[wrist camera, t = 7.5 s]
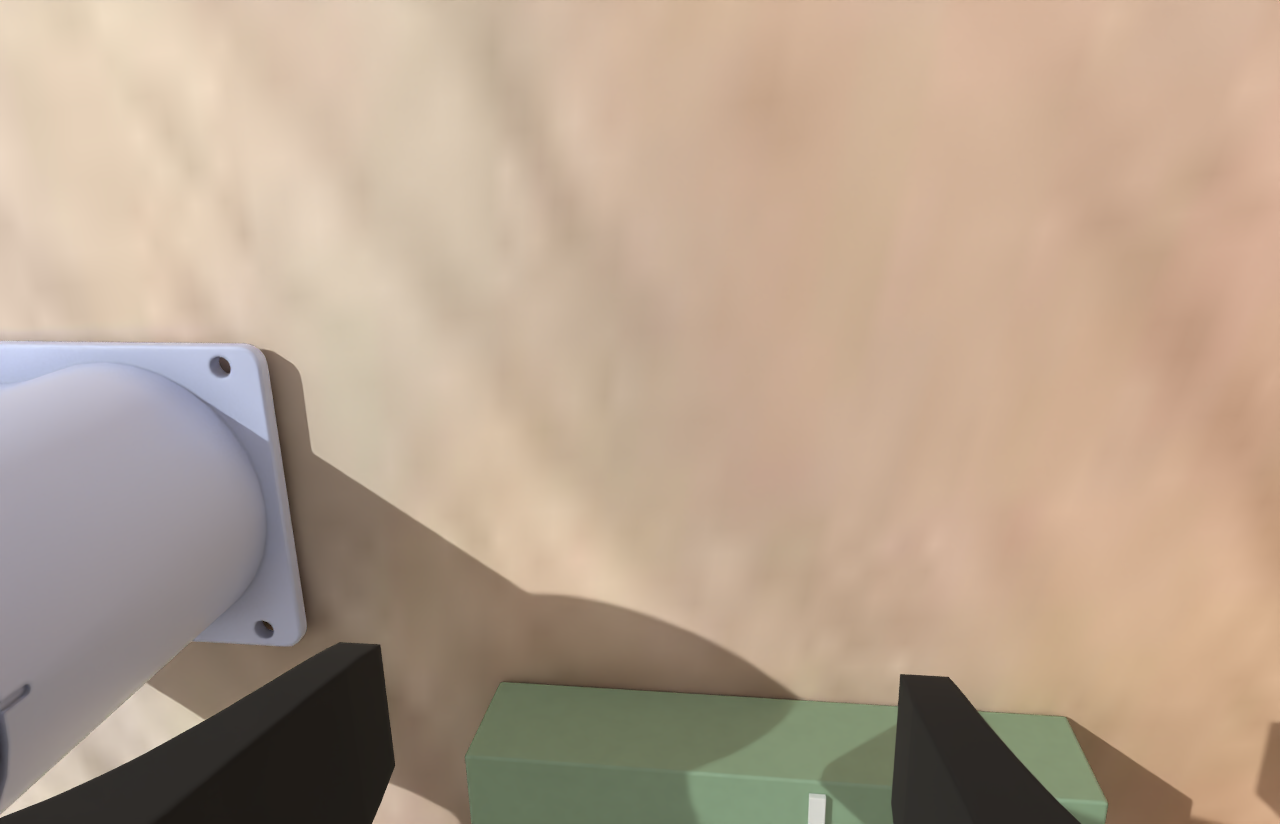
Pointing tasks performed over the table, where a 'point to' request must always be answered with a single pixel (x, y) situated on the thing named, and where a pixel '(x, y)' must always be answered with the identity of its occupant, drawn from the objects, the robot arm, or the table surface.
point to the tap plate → (719, 759)
